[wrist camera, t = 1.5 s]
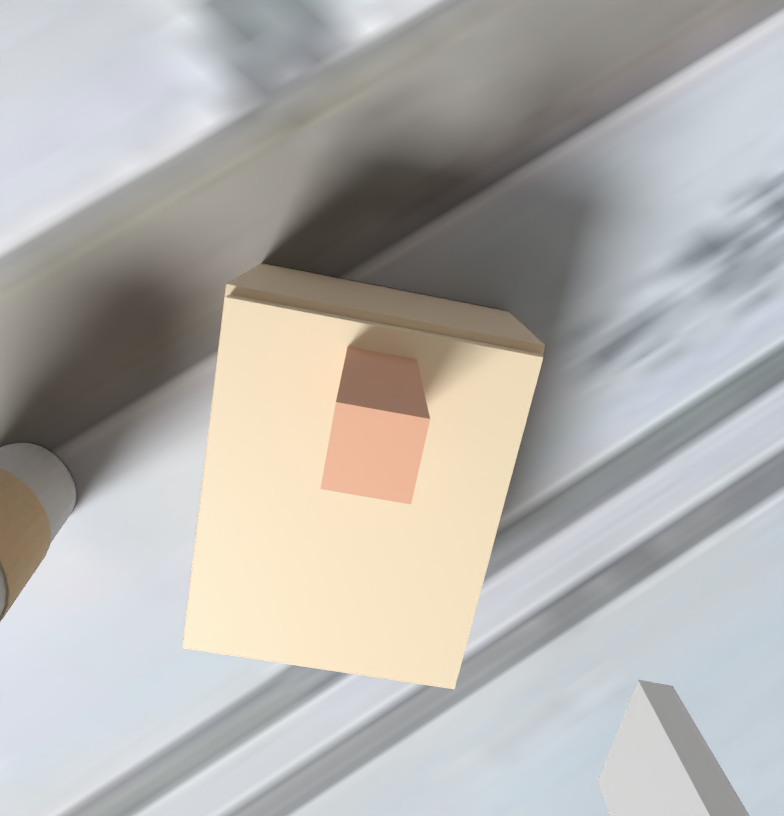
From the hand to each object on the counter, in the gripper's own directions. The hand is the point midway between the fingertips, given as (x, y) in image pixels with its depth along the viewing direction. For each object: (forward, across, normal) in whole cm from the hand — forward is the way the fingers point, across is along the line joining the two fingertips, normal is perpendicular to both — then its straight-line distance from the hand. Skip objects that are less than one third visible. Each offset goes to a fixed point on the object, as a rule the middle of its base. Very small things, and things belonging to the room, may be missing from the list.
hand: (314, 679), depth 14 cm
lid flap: (+17, +1, -5) cm, 18 cm away
